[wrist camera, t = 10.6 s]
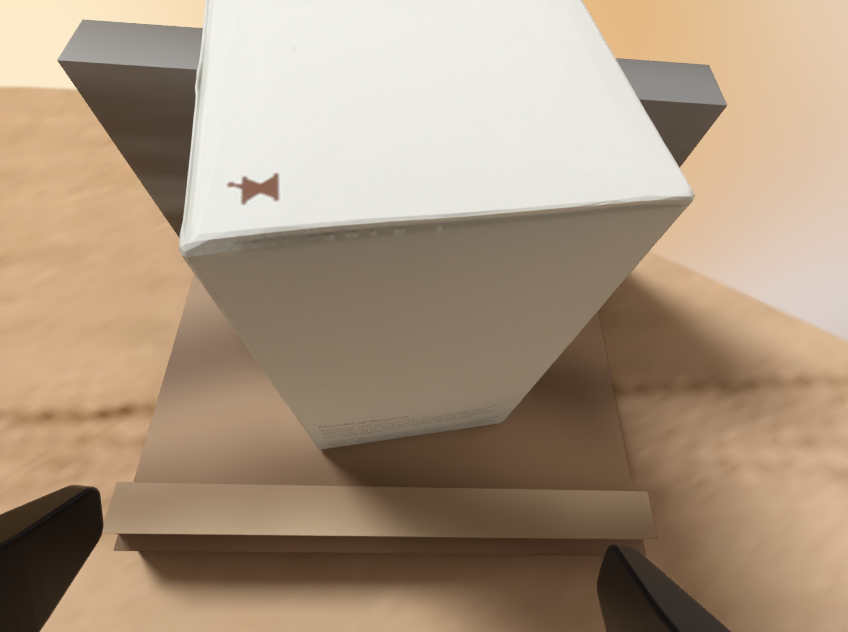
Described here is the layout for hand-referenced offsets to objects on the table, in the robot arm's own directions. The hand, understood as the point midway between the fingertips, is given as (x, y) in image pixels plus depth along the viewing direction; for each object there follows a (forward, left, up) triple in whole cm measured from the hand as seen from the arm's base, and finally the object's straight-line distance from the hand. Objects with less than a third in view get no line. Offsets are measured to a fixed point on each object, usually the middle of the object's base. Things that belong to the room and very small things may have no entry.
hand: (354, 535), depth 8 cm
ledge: (+7, -1, -10) cm, 12 cm away
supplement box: (+7, -1, -9) cm, 11 cm away
